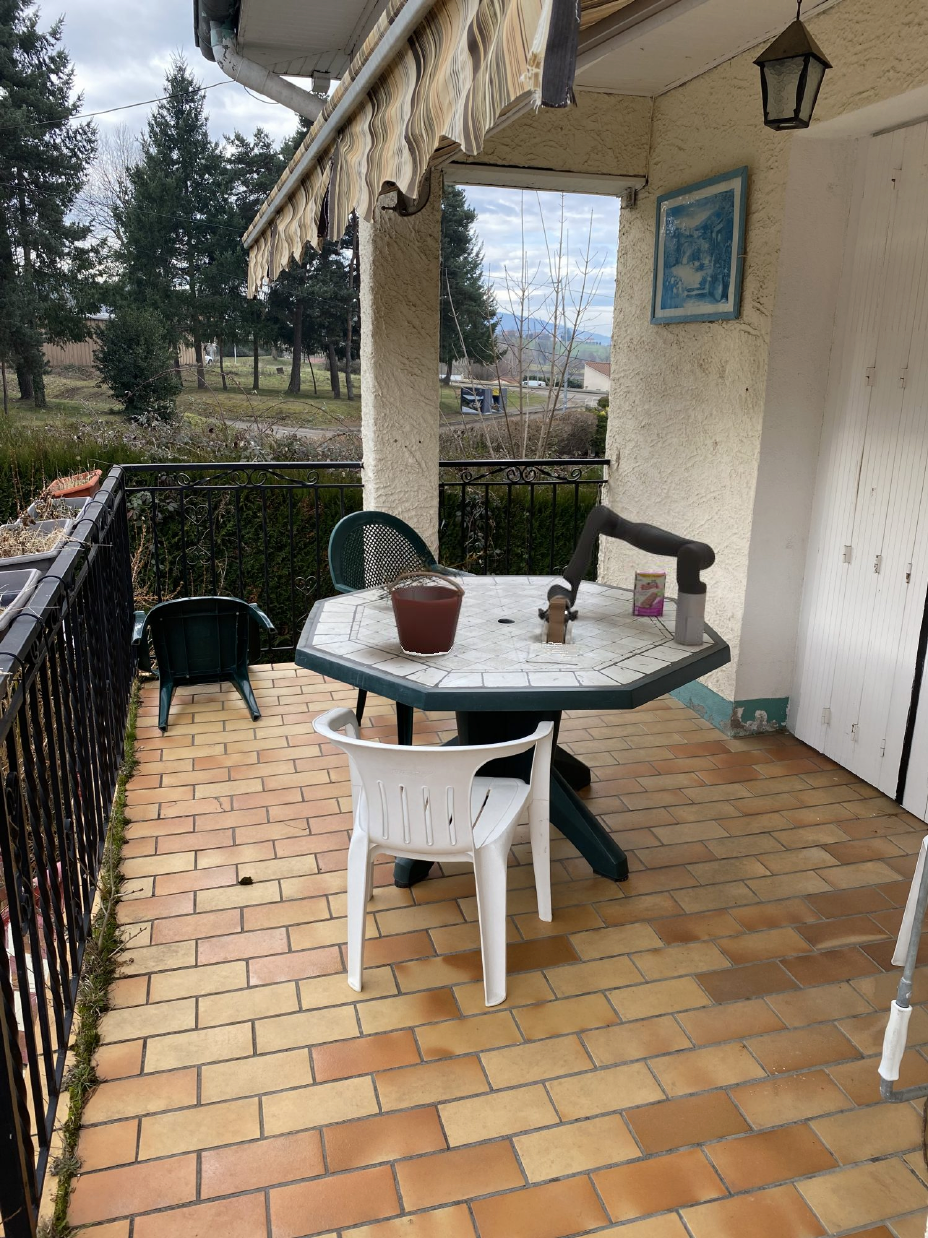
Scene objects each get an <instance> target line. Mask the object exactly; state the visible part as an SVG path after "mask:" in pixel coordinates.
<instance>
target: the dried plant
mask: <svg viewBox="0 0 928 1238" xmlns="http://www.w3.org/2000/svg"><path fill="white" fill-rule="evenodd" d="M433 543H434V542H433V540H432V541H431V542H430V543H426V544H427V545H426V547H425V548H426V551H430V550H431V549H430V548H431V547H432V546H431V545H433ZM440 545H441V544H439V545H438V546H437V549H435V552H437V551H438V549H439V547H440ZM452 545H453V542H452ZM446 551H448V549H447V550H446ZM449 551H452V546H450V550H449ZM449 554H450V552H448V554H443V555H444V556H443V559H442V561H441V562H442V563H443V565H442V563H439V564H438V566H441V567H442V568H440V567H436V570H437V569H438V571H436V570H433V569H434V565H432V564H430V565H428V562H429V560H430V558H427V556H425V557H424V558H423V556H413V557H412V562H413V563H412V564H411V565H410V563H407V564H406V561H403V562H404V565H405V566H402V568H400V566H401V564H398V566H397V567H396V569H397V571H396V569H394V570H395V573H394V574H393V575H392V574H391V573H392V572H390V574H389V575H390V577H389V576H388V575H386V577H385V580H386V582H385V585H384V586H383V585H381V586H380V588H378V589H377V590H376V592H375V594H376V593H379V591H380V590H381V593H382V594H380V595H378V596H377V598H376V600H377V599H378V601H381V600H383V599H384V600H385V603H386V604H387V603H388V602H389V601H391V594H390V593H389V590H388V589H387V588H386V587H387V586H388V585H389V584H392V583H394V582H395V581H396V579H397V578H398V577H399V576H400V575H402V574H406V573H412V572H431V573H439V572H442V574H445V575H446V574H448V575H446V576H445V575H444V576H445V577H449V576H453V578H454V579H453V580H456V579H458V578H457V574H458V575H459V577H461V576H462V574H460V573H461V572H464V571H467V568H464V567H462V569H461V570H459V568H457V569H456V572H453V571H452V569H450V573H451V574H449V570H448V569H449V568H452V567H455V566H457V565H460V564H464V563H466V562H468V565H469V566H470V567H468V569H469V570H471V564H470V563H469V562H472V560H473V559H474V560H477V557H478V556H482V557H483V556H485V555H487V554H488V555H490V553H489V551H487V554H485V553H483V551H480V554H477V555H476V553H475V552H474V553H473V555H472V558H469V557H470V555H469V554H468V555H467V556H466V559H465V560H464V561H463V562H460V563H457V564H453V565H450V566H449V565H448V564H450V562H449V561H448V562H446V561H445V558H446V557H449ZM468 558H469V559H468ZM413 559H414V560H413ZM415 559H416V560H415ZM426 559H427V561H426V562H425V563H424V561H425V560H426ZM418 561H419V563H420V565H419V564H418V563H417V562H418ZM407 562H410V560H409V559H408V561H407ZM413 565H414V566H416V567H413V568H412V569H411V568H410V567H412V566H413ZM424 565H425V567H424ZM413 569H414V570H413ZM396 575H397V576H396ZM394 576H395V577H394ZM433 578H435V579H433ZM408 580H410V581H411V582H409V583H407V582H408ZM427 580H428V582H427ZM438 580H439V581H438ZM439 582H442V579H440V578H437V577H435V576H428V575H414V576H408V577H403V578H402V579H401V580H400V581H399V582H398V583H397V584H396V585H395V586H394V587H393V588H392V589H391V591H394V590H398V589H401V588H405V587H409V586H411V585H413V584H414V586H428V585H427V584H430V583H434V584H435V583H436V584H435V585H434V586H437V584H438V585H439ZM406 583H407V584H406ZM385 588H386V589H385ZM377 591H378V592H377ZM385 591H386V592H385ZM383 592H385V593H383Z"/></svg>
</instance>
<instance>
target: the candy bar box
mask: <svg viewBox="0 0 928 1238" xmlns="http://www.w3.org/2000/svg"><path fill="white" fill-rule="evenodd" d="M666 579H667V573H666V571H659V570H657V571H656V570H637V569H636V570H634V581H633V582H634V583H633V594H632V604H631V607H632V608H631V614H632V616H637V617H638V616H641V617H658V616H662V617H663V615H664V603H665V593H666V591H665V590H666V582H667V581H666Z"/></svg>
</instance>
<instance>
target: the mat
mask: <svg viewBox="0 0 928 1238" xmlns="http://www.w3.org/2000/svg"><path fill="white" fill-rule="evenodd" d="M543 644H549V645H554V644H552V643H548V642H547V643H543ZM555 645H563V646H546V647H555V648H543V649H550V650H552V649H553V650H554V649H557V650H562V649H563V650H566V651H554V652H564V653H550V654H561V655H562V654H565V655H579V656H563V657H572V658H573V657H579V658H580V652H579V651H573V650H581V645H580V646H577V645H578V644H570V645H569V644H565V643H563V644H555ZM564 645H567V646H564ZM575 645H576V646H575ZM556 647H561V648H556ZM569 650H570V651H569ZM571 650H572V651H571ZM548 652H550V651H548ZM551 652H552V651H551ZM565 652H566V653H565ZM567 652H568V653H567ZM578 652H579V653H578ZM546 654H547V653H546ZM568 662H571V661H568ZM572 662H573V661H572Z"/></svg>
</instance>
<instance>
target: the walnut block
mask: <svg viewBox="0 0 928 1238" xmlns="http://www.w3.org/2000/svg"><path fill="white" fill-rule="evenodd" d="M565 604H566V599H550V606H549V605H548V606H549V631H548V638H547V643H548V642H553V643H562V644H564V643H565V626H566V625H565V624H564V617H565Z"/></svg>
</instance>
